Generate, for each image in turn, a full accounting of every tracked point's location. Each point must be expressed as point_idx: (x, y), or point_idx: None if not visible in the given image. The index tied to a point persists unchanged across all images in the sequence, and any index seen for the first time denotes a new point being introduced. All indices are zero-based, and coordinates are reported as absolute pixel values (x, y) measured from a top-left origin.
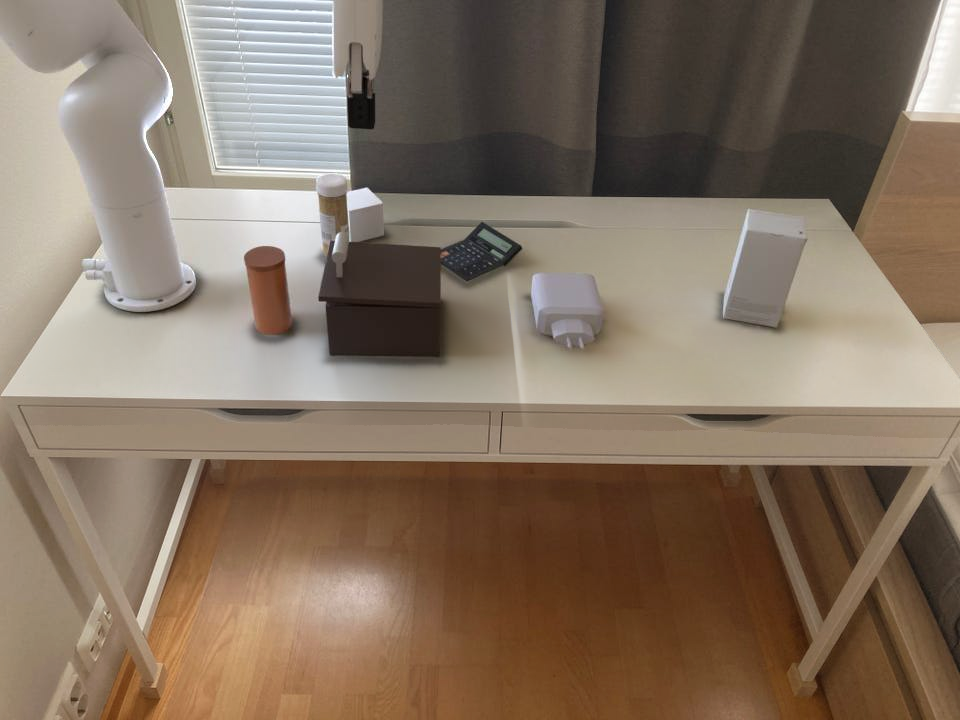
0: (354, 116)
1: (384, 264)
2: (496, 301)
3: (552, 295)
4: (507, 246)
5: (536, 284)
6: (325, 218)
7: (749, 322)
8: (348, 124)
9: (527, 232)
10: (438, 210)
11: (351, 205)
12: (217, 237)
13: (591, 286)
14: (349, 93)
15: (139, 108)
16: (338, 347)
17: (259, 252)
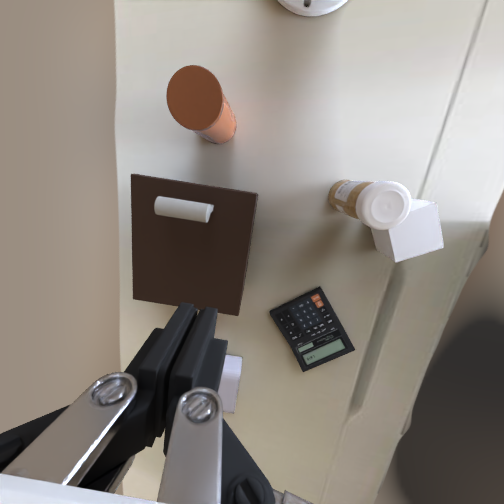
0: (147, 339)
1: (201, 254)
2: (242, 329)
3: None
4: (308, 360)
5: (225, 371)
6: (350, 189)
7: None
8: (180, 304)
9: (348, 376)
10: (414, 310)
11: (400, 223)
12: (425, 36)
13: None
14: (85, 394)
15: None
16: None
17: (204, 90)
